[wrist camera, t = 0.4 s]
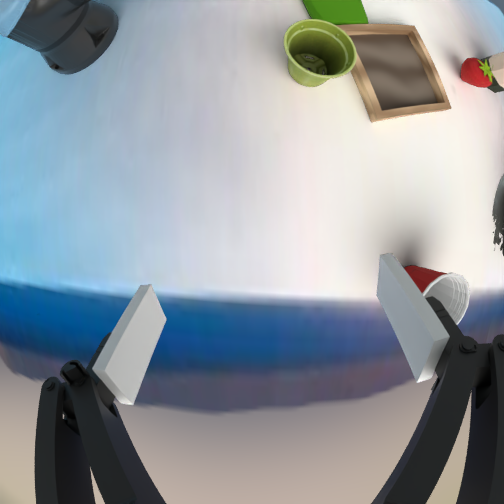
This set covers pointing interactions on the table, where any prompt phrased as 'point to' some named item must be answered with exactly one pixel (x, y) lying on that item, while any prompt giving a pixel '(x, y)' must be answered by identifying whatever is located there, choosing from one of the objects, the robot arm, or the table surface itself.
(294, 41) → the plant pot
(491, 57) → the wine bottle
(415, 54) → the square wooden tray
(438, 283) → the plastic cup
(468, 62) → the strawberry
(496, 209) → the wooden crate with straw
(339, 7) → the spray bottle
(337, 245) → the table surface
